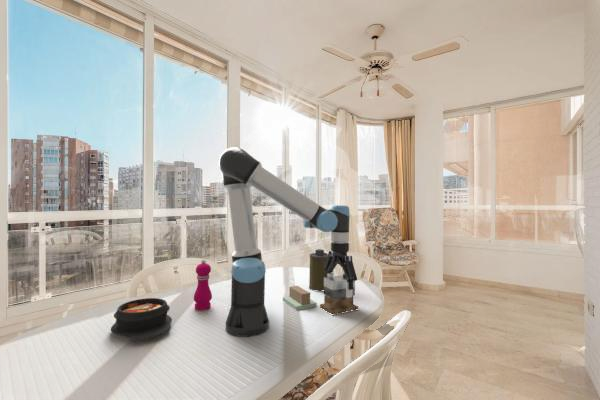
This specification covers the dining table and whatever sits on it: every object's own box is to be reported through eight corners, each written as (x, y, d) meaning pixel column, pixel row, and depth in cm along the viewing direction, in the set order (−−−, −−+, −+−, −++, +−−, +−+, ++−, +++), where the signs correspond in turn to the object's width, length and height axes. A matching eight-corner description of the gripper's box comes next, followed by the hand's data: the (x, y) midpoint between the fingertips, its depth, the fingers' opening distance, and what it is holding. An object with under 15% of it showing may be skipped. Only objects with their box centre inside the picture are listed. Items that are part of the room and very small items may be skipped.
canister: (321, 292, 146) (322, 252, 146) (304, 288, 153) (305, 249, 153) (333, 287, 155) (333, 249, 155) (316, 284, 161) (317, 247, 161)
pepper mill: (189, 308, 121) (190, 260, 122) (202, 303, 128) (203, 257, 128) (202, 312, 118) (203, 262, 118) (215, 306, 125) (216, 259, 125)
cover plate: (333, 290, 119) (333, 278, 119) (323, 285, 125) (323, 274, 125) (354, 287, 124) (355, 275, 124) (344, 282, 130) (345, 272, 130)
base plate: (332, 299, 119) (333, 290, 119) (323, 294, 125) (323, 285, 125) (354, 295, 124) (354, 287, 124) (344, 290, 130) (344, 282, 130)
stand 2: (331, 315, 118) (332, 300, 118) (320, 307, 125) (320, 293, 125) (357, 310, 124) (358, 295, 124) (345, 303, 132) (345, 289, 132)
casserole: (103, 324, 105) (103, 301, 105) (158, 312, 118) (159, 291, 118) (120, 352, 87) (120, 323, 87) (183, 333, 99) (184, 308, 99)
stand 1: (295, 310, 122) (296, 295, 122) (282, 300, 134) (283, 287, 134) (316, 306, 127) (316, 292, 127) (302, 297, 139) (302, 284, 139)
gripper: (366, 245, 115) (365, 300, 115) (330, 238, 137) (330, 283, 137) (351, 246, 112) (350, 303, 112) (317, 238, 134) (316, 285, 134)
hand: (339, 292), depth 125 cm, fingers open, 13 cm apart
